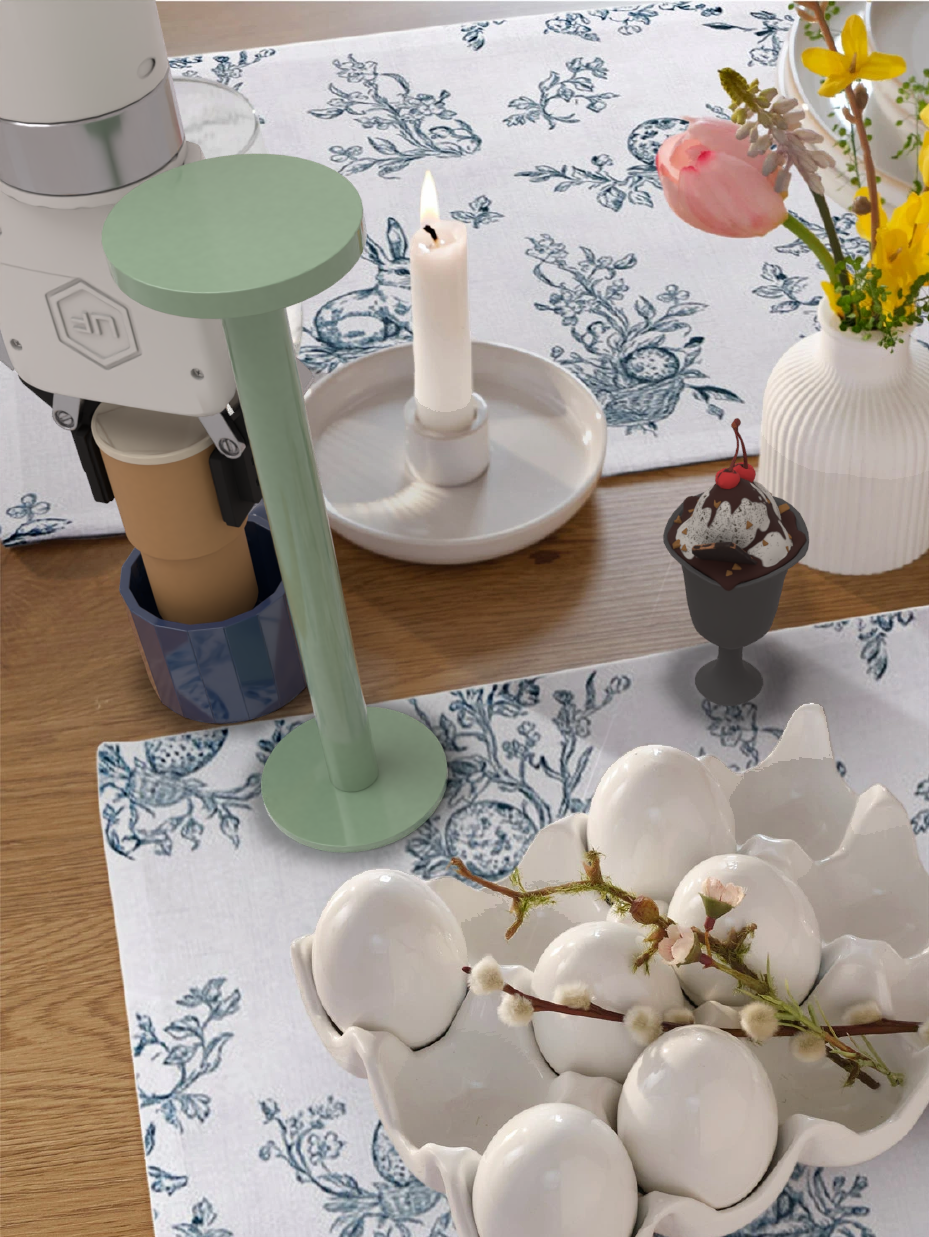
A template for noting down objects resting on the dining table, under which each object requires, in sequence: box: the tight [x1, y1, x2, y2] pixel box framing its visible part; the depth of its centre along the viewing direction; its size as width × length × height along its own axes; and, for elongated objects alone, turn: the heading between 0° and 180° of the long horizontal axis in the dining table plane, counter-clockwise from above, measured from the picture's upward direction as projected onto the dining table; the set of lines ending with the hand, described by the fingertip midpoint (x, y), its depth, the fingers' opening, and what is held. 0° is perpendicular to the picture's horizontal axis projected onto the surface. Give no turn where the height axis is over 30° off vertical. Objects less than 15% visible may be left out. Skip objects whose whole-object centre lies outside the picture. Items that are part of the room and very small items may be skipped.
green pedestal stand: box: [101, 153, 449, 854], centre depth 67 cm, size 9×9×30 cm
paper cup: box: [91, 402, 258, 625], centre depth 76 cm, size 6×6×11 cm
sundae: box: [662, 417, 810, 707], centre depth 77 cm, size 7×7×15 cm
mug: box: [118, 498, 308, 725], centre depth 83 cm, size 12×9×7 cm
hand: (180, 493), depth 75 cm, fingers closed on paper cup, 5 cm apart
